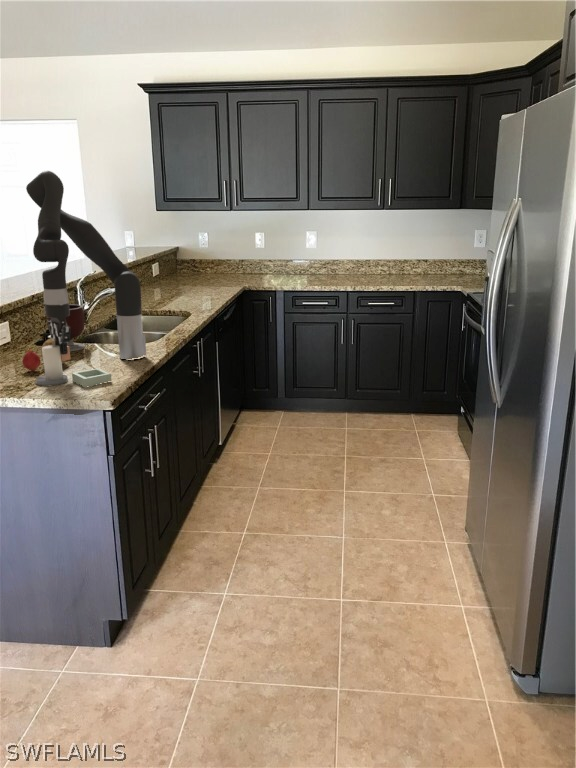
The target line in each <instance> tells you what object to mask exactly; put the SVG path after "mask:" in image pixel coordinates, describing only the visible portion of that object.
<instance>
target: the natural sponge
mask: <svg viewBox="0 0 576 768" xmlns="http://www.w3.org/2000/svg"><path fill="white" fill-rule="evenodd" d="M51 345H55V341H54V340H53V338H51V337H50V338H48V339H47V340H45V341H44V342H43V344H42V346H41V349H40V350H41V354H42V355H43V353H42V347H45V346H51Z"/></svg>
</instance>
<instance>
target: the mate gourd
mask: <svg viewBox="0 0 576 768" xmlns="http://www.w3.org/2000/svg"><path fill="white" fill-rule="evenodd" d="M42 301H43V302H44V299H43V300H42ZM69 310H70V315H69V316H67V317H66V318H65V319H66V322H67V326H71V334H70V342H68V343H67V346H69V348H70V352H74V351H75V352H77V351H81V350H83V349H85V348H86V345H85V344H84V343H79V342H78V343H77V342H74V341H73V340H74V339H76V338H78V337H79V336H81V335H82V333H83V331H85V330H84V329H85V322H86V321H85V312H84V310H83V306H82V305H80V304H72V303H69ZM47 319H48V321H51V318H49V317H47ZM48 321H47V322H48ZM64 339H65V338H64Z"/></svg>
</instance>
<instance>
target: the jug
mask: <svg viewBox="0 0 576 768" xmlns="http://www.w3.org/2000/svg"><path fill="white" fill-rule="evenodd" d="M41 348H42V352H41V354H42V353H43V354H42V359H43V360H42V361H43V368H44V375H45V379H47V380H58V379H61V378H63V375H64V373H63V362H64V361H70V360H71V358H72V357H71V351H70V348H69V346H67V350H68V353H67V354H61V353H60V346H57V345H51V346H45V347H42V346H41Z"/></svg>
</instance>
